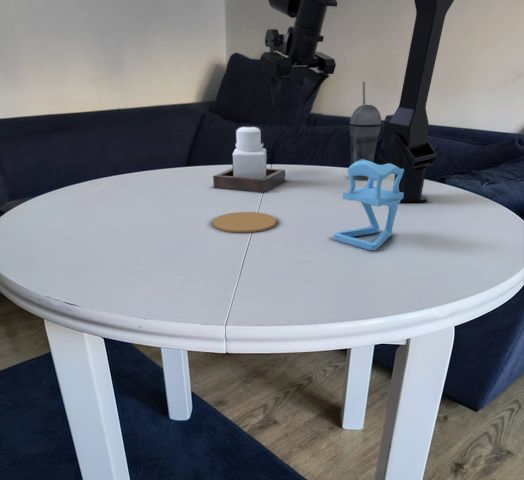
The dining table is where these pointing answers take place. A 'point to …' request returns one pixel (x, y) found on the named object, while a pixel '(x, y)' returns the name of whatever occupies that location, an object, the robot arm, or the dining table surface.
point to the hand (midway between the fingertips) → (288, 104)
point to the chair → (372, 201)
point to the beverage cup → (364, 133)
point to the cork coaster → (244, 222)
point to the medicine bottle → (249, 153)
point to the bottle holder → (249, 181)
